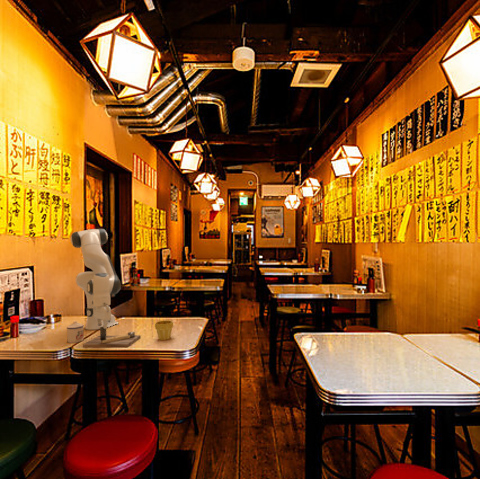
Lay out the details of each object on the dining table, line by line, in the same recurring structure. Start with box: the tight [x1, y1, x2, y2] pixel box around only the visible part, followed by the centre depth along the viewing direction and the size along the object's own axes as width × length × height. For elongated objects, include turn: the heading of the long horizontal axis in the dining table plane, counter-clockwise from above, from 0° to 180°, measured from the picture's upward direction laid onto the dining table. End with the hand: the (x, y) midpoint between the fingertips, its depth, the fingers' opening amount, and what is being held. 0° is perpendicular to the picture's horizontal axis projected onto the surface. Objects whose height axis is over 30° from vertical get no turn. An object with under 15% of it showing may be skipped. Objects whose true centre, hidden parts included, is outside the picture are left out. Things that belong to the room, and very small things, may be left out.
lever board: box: [82, 334, 141, 348], centre depth 192 cm, size 18×26×2 cm
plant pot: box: [154, 319, 174, 341], centre depth 197 cm, size 10×10×10 cm
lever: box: [99, 327, 136, 343], centre depth 192 cm, size 20×4×9 cm, turn 130°
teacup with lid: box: [66, 320, 84, 344], centre depth 200 cm, size 12×9×12 cm
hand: (102, 327), depth 186 cm, fingers open, 8 cm apart
